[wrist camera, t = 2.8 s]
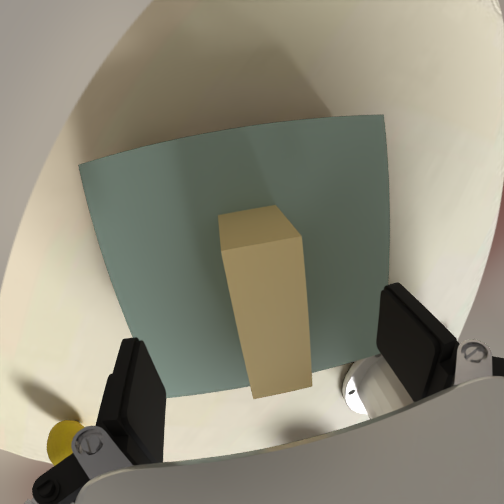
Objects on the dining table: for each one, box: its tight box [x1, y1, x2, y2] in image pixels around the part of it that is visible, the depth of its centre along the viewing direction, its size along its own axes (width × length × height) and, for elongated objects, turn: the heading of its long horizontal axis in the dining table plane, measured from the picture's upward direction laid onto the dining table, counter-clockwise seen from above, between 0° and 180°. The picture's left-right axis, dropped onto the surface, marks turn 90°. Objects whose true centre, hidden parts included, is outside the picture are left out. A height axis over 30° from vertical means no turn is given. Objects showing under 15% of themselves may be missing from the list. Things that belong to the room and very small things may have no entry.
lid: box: [78, 115, 390, 399], centre depth 16 cm, size 16×16×6 cm
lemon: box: [47, 420, 85, 466], centre depth 26 cm, size 6×6×8 cm
